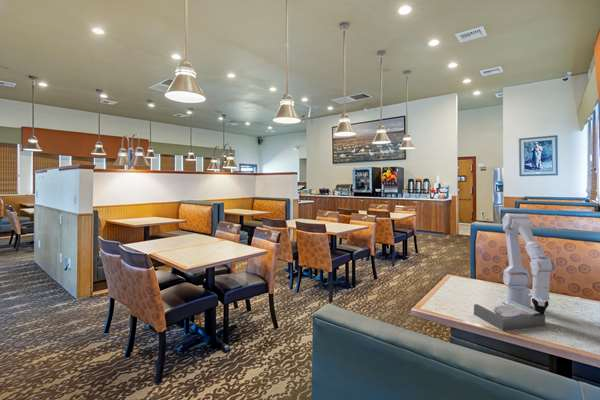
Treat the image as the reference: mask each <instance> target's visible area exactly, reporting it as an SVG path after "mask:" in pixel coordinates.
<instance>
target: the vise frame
mask: <svg viewBox="0 0 600 400" xmlns="http://www.w3.org/2000/svg"><path fill="white" fill-rule="evenodd" d="M473 315H474V316H476V317H478V318H479V319H481V320H483V321H485V322H487V323H488V324H491V325H492V326H493V327H496V328H497V329H499V330H501V331H512V330H519V329H520V330H521V329H530V328H538V327H546V314H545V313H544V314H541V313H539V314H529V315H519V316H509V317H501V316H499V315H498V314H496V313H495V311H491V310H490V309H487V308H485V307H484V306H482V305H479V304H478V303H475V304H473Z"/></svg>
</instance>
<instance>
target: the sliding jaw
mask: <svg viewBox="0 0 600 400" xmlns="http://www.w3.org/2000/svg"><path fill="white" fill-rule="evenodd" d="M509 305H511V306H513V307H514V308H516V309H518V310H523V311H526V312H527V313H528V314H539V312H537V311H535V309H532V308H531V307H525V306H523V305H521V304H518V303H516V302H514V301H509ZM509 305H508V306H509Z"/></svg>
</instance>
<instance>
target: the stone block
mask: <svg viewBox="0 0 600 400" xmlns="http://www.w3.org/2000/svg"><path fill="white" fill-rule="evenodd" d="M493 312H494V313H495V314H497V315H499V316H501V317H509V316H519V315H529V314H528V313H527V312H526V311H523V310H518V309H516V308H514V307H513V306H511V305H506V304H505V305H503V304H502V305H501V304H500V305H497V306H494V308H493Z"/></svg>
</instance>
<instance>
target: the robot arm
mask: <svg viewBox="0 0 600 400" xmlns="http://www.w3.org/2000/svg"><path fill="white" fill-rule="evenodd" d="M501 223H502V231H503V232H505V240H506V248H507V250H506V251H507V256H508V257H507V258H508V266H507V267H506V268H505V269H504V270H503V274H502V280H503V283H504V285H505V286H506V300H502V301H501V302H502V303H503V304H505V305H506V306H509V301H514V302H516V303H518V304H521V305H523V306H525V307H528V308H532V307H534V311H537V312H539V313H541V314H544V315H545V312H546V310H547V308H548V307H549V305H550V303H549V300H550V298H551V297H550V283H551V282H550V281H551V273H552V272H554V269H555V263H554V260H553V259H552V258H550V257H549V255H546V253H545V251H544V249H543V247H542V245H541V243H539V242H536V240H535V237H534V234H533V231H532V230H531V224H532V220H531V218H530V216H529V215H528V214H527V213H521V214H519V213H516V214H515V213H513V214H511V213H505V214H504V215H503V217H502V219H501ZM519 234H520V236H521V237H522V239H523V241H524V242H525V244H526V245H525V246H524V249H525V251H526V252H527V255H528V256H529V259H530V262H529V266H530V269H531V274H532V281H531V276H530V275H529V271H528V270H527V269H526V268H525V267H524V266H523V263H522V254H521V248H520V237H519ZM531 282H532V283H531ZM531 284H532V287H531V288H532V289H531V290H530V289H529V287H530V285H531ZM531 304H533V306H532V305H531Z"/></svg>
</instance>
